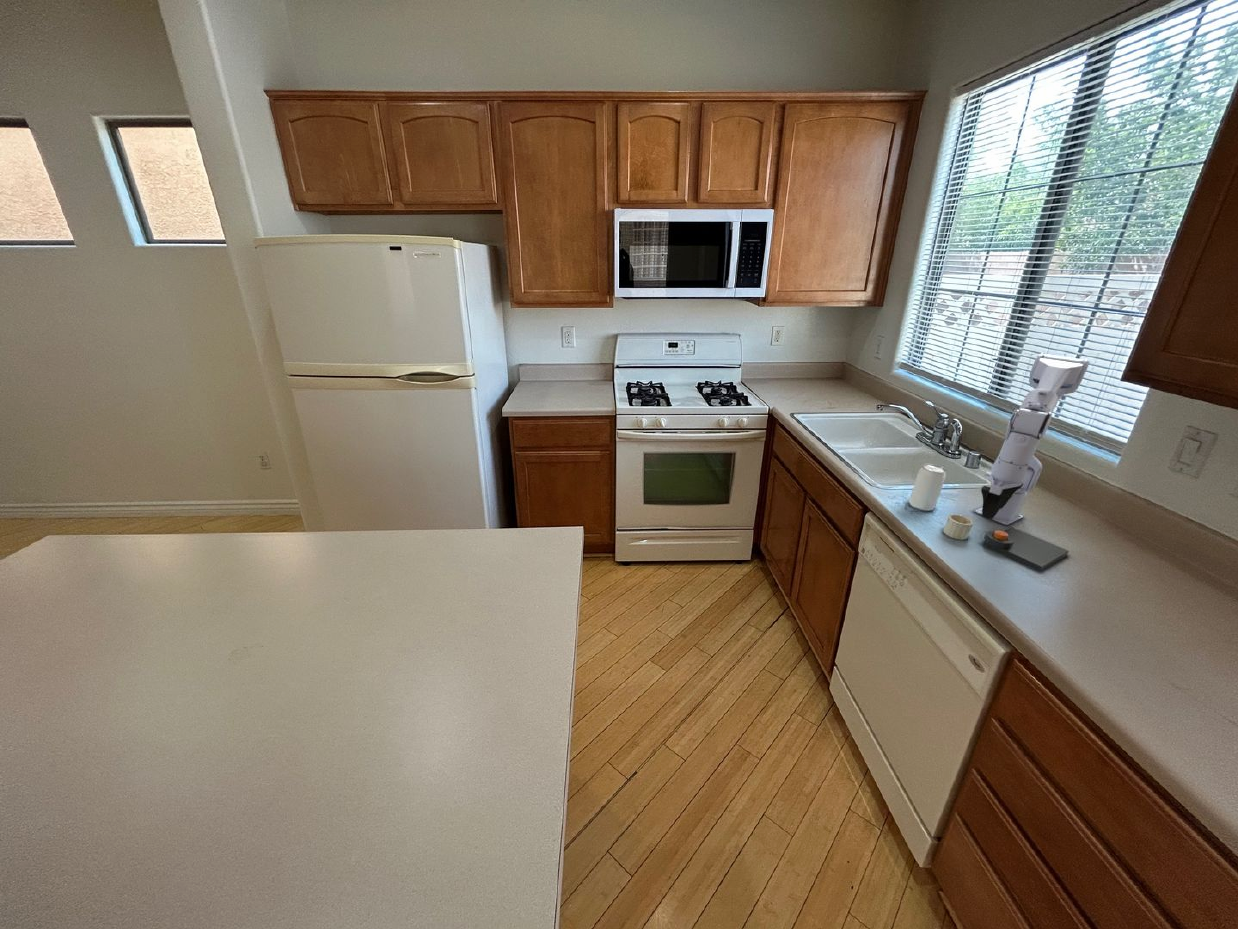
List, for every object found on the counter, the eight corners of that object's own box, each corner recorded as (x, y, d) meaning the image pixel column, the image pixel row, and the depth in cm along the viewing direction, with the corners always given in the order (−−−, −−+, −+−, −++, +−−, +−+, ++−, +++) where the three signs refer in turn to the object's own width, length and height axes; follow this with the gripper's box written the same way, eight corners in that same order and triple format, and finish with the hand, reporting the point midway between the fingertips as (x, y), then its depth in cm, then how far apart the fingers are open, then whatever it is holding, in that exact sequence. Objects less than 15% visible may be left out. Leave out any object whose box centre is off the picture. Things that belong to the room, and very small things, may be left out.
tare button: (996, 534, 118) (998, 529, 117) (1008, 539, 116) (1010, 534, 115) (990, 536, 117) (993, 531, 116) (1002, 542, 115) (1005, 536, 114)
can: (927, 501, 138) (940, 464, 133) (938, 512, 133) (952, 473, 128) (904, 499, 139) (916, 462, 134) (914, 510, 133) (927, 472, 128)
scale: (1007, 530, 125) (1011, 520, 124) (1066, 555, 115) (1071, 545, 114) (977, 544, 118) (981, 534, 117) (1037, 572, 108) (1043, 561, 107)
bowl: (950, 527, 126) (955, 512, 124) (971, 536, 121) (977, 521, 120) (939, 531, 123) (944, 516, 121) (960, 541, 119) (966, 526, 117)
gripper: (1001, 447, 115) (982, 496, 121) (983, 462, 107) (963, 514, 112) (1037, 457, 110) (1015, 507, 116) (1021, 473, 102) (998, 527, 108)
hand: (992, 511), depth 114 cm, fingers open, 7 cm apart
